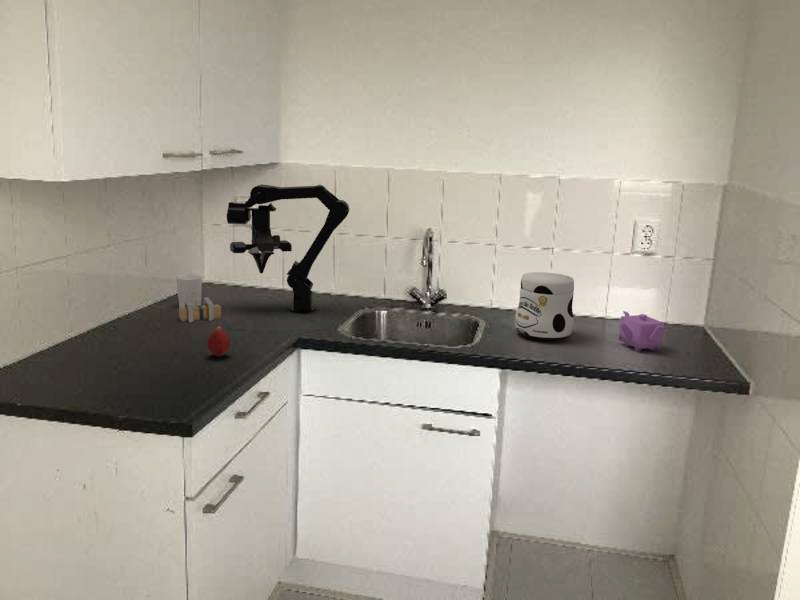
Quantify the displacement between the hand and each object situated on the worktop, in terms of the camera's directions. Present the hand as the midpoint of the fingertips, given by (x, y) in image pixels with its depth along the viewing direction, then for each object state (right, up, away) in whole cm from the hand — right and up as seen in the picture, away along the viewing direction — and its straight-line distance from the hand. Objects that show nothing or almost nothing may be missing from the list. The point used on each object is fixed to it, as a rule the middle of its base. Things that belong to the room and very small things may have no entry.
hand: (261, 273), depth 231 cm
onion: (-2, -23, -46) cm, 52 cm away
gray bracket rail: (-18, -14, -9) cm, 24 cm away
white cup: (-24, -11, +3) cm, 26 cm away
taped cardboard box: (-17, -14, -10) cm, 24 cm away
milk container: (+88, -20, -15) cm, 91 cm away
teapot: (+113, -23, -24) cm, 118 cm away
